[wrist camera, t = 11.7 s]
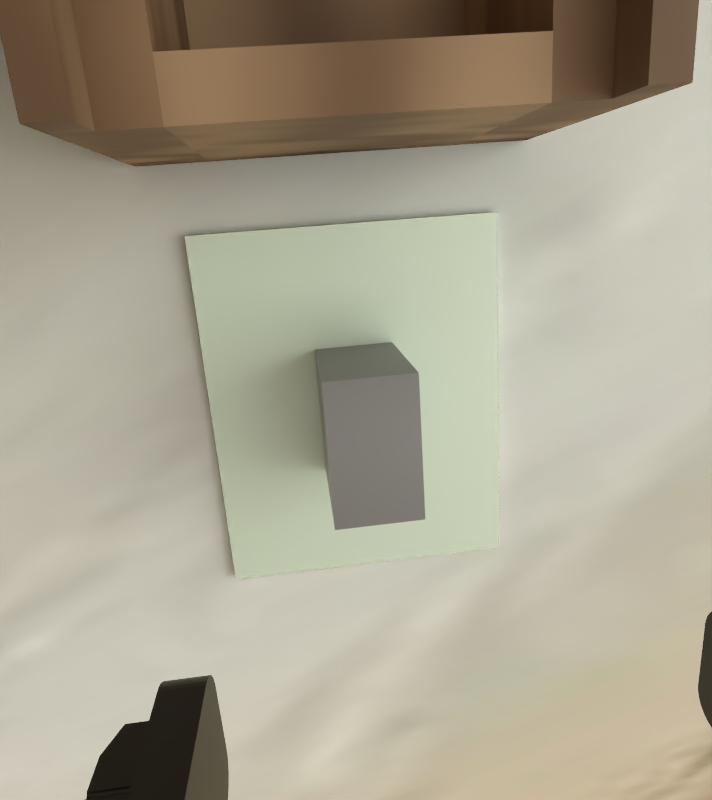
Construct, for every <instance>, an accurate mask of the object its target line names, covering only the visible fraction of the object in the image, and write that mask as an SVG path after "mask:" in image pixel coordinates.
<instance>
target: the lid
mask: <svg viewBox="0 0 712 800" xmlns="http://www.w3.org/2000/svg"><path fill="white" fill-rule="evenodd" d="M184 237H185V243H186V250H187V257H188V263H189V270H190V277H191V284H192V290H193V297H194V304H195V310H196V317H197V324H198V330H199V337H200V344H201V350H202V357H203V364H204V370H205V377H206V384H207V390H208V397H209V404H210V411H211V417H212V424H213V431H214V437H215V444H216V451H217V457H218V464H219V471H220V477H221V484H222V491H223V497H224V504H225V511H226V517H227V524H228V531H229V537H230V544H231V551H232V558H233V564H234V571H235V578H236V580H238V579H246V578H255V577H263V576H271V575H279V574H287V573H295V572H303V571H311V570H319V569H327V568H335V567H344V566H352V565H360V564H368V563H376V562H384V561H392V560H400V559H408V558H416V557H424V556H433V555H441V554H449V553H457V552H465V551H473V550H481V549H489V548H497V547H499V401H498V212H490V213H477V214H464V215H451V216H438V217H425V218H412V219H399V220H386V221H373V222H360V223H347V224H334V225H321V226H308V227H295V228H282V229H269V230H256V231H243V232H230V233H217V234H204V235H191V236H184Z"/></svg>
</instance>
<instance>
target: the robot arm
mask: <svg viewBox="0 0 712 800" xmlns="http://www.w3.org/2000/svg"><path fill="white" fill-rule="evenodd" d="M698 692H699V699H700V703H701V706H702V709H703V712H704V714H705V716H706V718H707V720H708V722H709V724H710V725H711V727H712V612H711V613H709V615H708V616H707V619H706V623H705V631H704V640H703V649H702V658H701V666H700V675H699V684H698ZM86 800H228V758H227V750H226V744H225V738H224V733H223V727H222V721H221V716H220V710H219V704H218V699H217V693H216V687H215V683H214V679H213V677H212V676H211V675H209V676H201V677H194V678H186V679H178V680H171V681H164V682H162V683H161V684H160V686H159V689H158V692H157V695H156V699H155V702H154V706H153V709H152V713H151V716H150V720H149V721H145V722H138V723H131V724H125V725H124V726H123V728H122V729H121V730H120V731H119V733H118V734H117V735H116V736H115V738H114V739H113V740H112V741H111V743H110V744H109V745H108V747H107V748H106V749H105V750H104V752H103V753H102V754H101V755H100V757H99V760H98V763H97V765H96V768H95V771H94V774H93V777H92V779H91V782H90V785H89V788H88V791H87V799H86Z"/></svg>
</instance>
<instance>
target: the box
mask: <svg viewBox="0 0 712 800" xmlns="http://www.w3.org/2000/svg"><path fill="white" fill-rule="evenodd" d="M698 5H699V0H0V35H1V39H2V44H3V49H4V53H5V58H6V62H7V67H8V72H9V76H10V81H11V86H12V90H13V95H14V100H15V104H16V109H17V114H18V118H19V123H20V124H22V125H25V126H28V127H31V128H33V129H36V130H39V131H41V132H44V133H47V134H50V135H52V136H55V137H58V138H60V139H63V140H66V141H68V142H71V143H74V144H77V145H79V146H82V147H85V148H87V149H90V150H93V151H96V152H98V153H101V154H104V155H106V156H109V157H112V158H115V159H117V160H120V161H123V162H125V163H128V164H131V165H133V166H147V165H162V164H176V163H191V162H206V161H221V160H236V159H250V158H265V157H280V156H295V155H310V154H324V153H339V152H354V151H369V150H384V149H399V148H413V147H428V146H443V145H458V144H473V143H487V142H502V141H517V140H528V139H530V138H533V137H536V136H539V135H542V134H545V133H548V132H551V131H554V130H556V129H559V128H562V127H565V126H568V125H571V124H574V123H577V122H580V121H583V120H585V119H588V118H591V117H594V116H597V115H600V114H603V113H606V112H609V111H611V110H614V109H617V108H620V107H623V106H626V105H629V104H632V103H635V102H637V101H640V100H643V99H646V98H649V97H652V96H655V95H658V94H661V93H664V92H666V91H669V90H672V89H675V88H678V87H681V86H684V85H687V84H690V83H692V81H693V68H694V55H695V43H696V30H697V17H698Z"/></svg>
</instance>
